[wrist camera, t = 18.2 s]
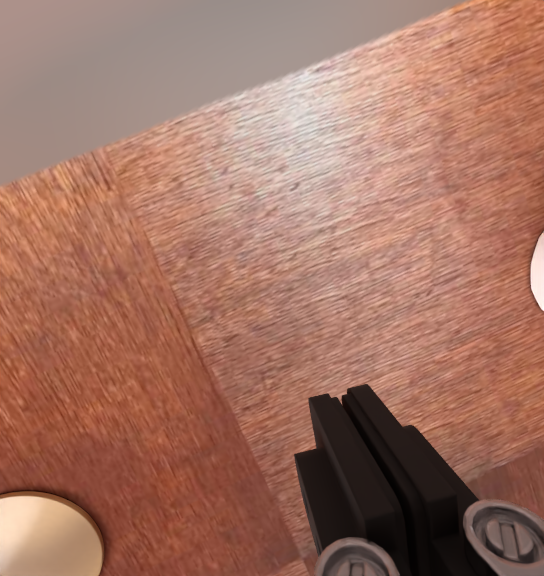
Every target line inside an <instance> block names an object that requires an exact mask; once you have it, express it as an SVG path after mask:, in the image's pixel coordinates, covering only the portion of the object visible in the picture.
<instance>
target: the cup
mask: <svg viewBox="0 0 544 576" xmlns="http://www.w3.org/2000/svg"><path fill="white" fill-rule="evenodd" d="M531 290H532V292H533V294H534V296H535V298H536V300H537V302H538V304H539V306H540V308H541V309H542V310H543V311H544V232H543V233H542V234H541V236H540V237H539V239H538V242H537V245H536V248H535V251H534V255H533V258H532V262H531Z"/></svg>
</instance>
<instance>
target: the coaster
mask: <svg viewBox="0 0 544 576" xmlns="http://www.w3.org/2000/svg"><path fill="white" fill-rule="evenodd" d="M103 560H104V542H103V538H102V535H101V532H100V530H99V528H98V526H97V525H96V523H95V522H94V520H93V519H92V518H91V517H90V516H89V515H88V514H87V513H86V512H85V511H84V510H83V509H82V508H80V507H79V506H77V505H76V504H74V503H73V502H71V501H69V500H66V499H64V498H62V497H59V496H56V495H53V494H48V493H44V492H35V491H21V492H12V493H7V494H2V495H0V576H99V573H100V571H101V568H102V565H103Z"/></svg>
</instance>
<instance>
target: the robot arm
mask: <svg viewBox="0 0 544 576" xmlns="http://www.w3.org/2000/svg"><path fill="white" fill-rule="evenodd" d="M342 405H343V406H342ZM309 407H310V413H311V419H312V424H313V430H314V436H315V442H316V447H317V449H313V450H309V451H305V452H301V453H297V454H294V457H295V463H296V468H297V473H298V478H299V483H300V488H301V492H302V497H303V501H304V505H305V509H306V513H307V517H308V520H309V524H310V527H311V531H312V535H313V538H314V542H315V546H316V549H317V553H318V557H319V558H318V560H317V563H316V566H315V569H314V576H544V520H543V519H542V518H541V517H539V516H538V515H536V514H535V513H533V512H532V511H530V510H529V509H527V508H525V507H523V506H520V505H518V504H516V503H513V502H509V501H505V500H500V499H485V500H481V501H479V500H478V498H477V497H476V496H475V495H474V494H473V493H472V492H471V490H470V489H469V488H468V487H467V486H466V485H465V483H464V482H463V481H462V480H461V479H460V478H459V477H458V475H457V474H456V473H455V472H454V471H453V470H452V469H451V467H450V466H449V465H448V464H447V463H446V462H445V460H444V459H443V458H442V457H441V456H440V455H439V454H438V452H437V451H436V450H435V449H434V448H433V447H432V446H431V444H430V443H429V442H428V441H427V440H426V439H425V437H424V436H423V435H422V434H421V433H420V432H419V431H418V429H416V428H415V427H414V426H412V425H408V426H404V427H402V426H401V424H400V423H399V422H398V421H397V420H396V418H395V417H394V416H393V415H392V413H391V412H390V411H389V410H388V408H387V407H386V406H385V405H384V403H383V402H382V401H381V400H380V399H379V397H378V396H377V395H376V394H375V392H374V391H373V390H372V389H371V387H370V386H369V385H368V384H365V385H360V386H356V387H352V388H348V389H347V394H346V395H342V404H341V403H340V401H339V399H338V398H337V397H333V398H331V397H330V395H329V394H328V393H327V394H323V395H319V396H314V397H310V398H309Z"/></svg>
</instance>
